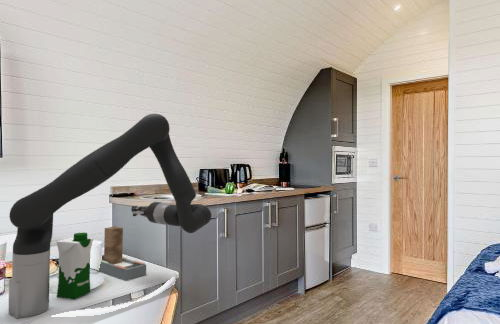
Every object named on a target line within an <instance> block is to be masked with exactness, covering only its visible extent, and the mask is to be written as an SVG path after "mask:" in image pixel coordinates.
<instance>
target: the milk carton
mask: <svg viewBox="0 0 500 324" xmlns="http://www.w3.org/2000/svg"><path fill="white" fill-rule="evenodd" d="M93 242H94V238H92V237H88V233H87V232H76V233H73V236H72V237H69V238H64V239H60V240H57V241H56V245H57V250H58V282H57V291H56V298H61V299H68V300H73V301H75V300H77V299H79V298H81V297H84V296H86V295H87V294H90V293H91V277H90V276H91V268H90V258H91V249H92V245H93Z"/></svg>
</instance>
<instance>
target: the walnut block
mask: <svg viewBox="0 0 500 324" xmlns="http://www.w3.org/2000/svg"><path fill="white" fill-rule="evenodd" d="M123 237H124V227H121V226H109V227H104V241H103V242H104V243H103V245H104V246H103V247H104V251H103V255H104V261H106V262H109V263H110V264H113V265H114V264H118V263H122V257H123V249H124V245H123V241H124V240H123V239H124V238H123Z"/></svg>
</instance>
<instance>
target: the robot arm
mask: <svg viewBox="0 0 500 324" xmlns="http://www.w3.org/2000/svg"><path fill="white" fill-rule="evenodd" d="M149 148H150V150H151V152H152V153H153V154H154V156H155V158H156V160H157V162H158V164H159V167H160V169H161V171H162V173H163V177H164V179H165V181H166V184H167V186H168V188H169V190H170V192H171V194H172V197H173V199H174V202H175V204H172V203H168V202H162V201H153V202H151V203H150V204H149V205H140V206H138V205H133V206H132V205H131V213H132V216H133V217H137V216H138V215H139V216H141V217H143V218H147V220H148V221H149V222H150V223H152V224H158V225H163V226H164V225H165V226H174V227H181V229H182V230H183V231H184V232H186V233H188V234H193V233H195V232H197V231H198V230H199V231H200V229H201V228H203V227H205V226H206V225H207V224H209V223H210V221H211V220H212V211H211V210H210V208H208V206H206V205H205V204H202V203H193V204H192V202H193V201H194V200H195V198H196V196H197V193H196V189H195V188H194V186H193V184H192V181H191V179H190V177H189V175H188V173H187V171H186V170H185V168H184V166H183V164H182V163H181V162H180V159H179V157H178V156H177V154H176V151H175V150H174V147H173V144H172V141H171V136H170V124H169V121H168V120H167V118H166V117H165V116H164V115H162V114H160V113H149V114H147V115H144V117H142V118H141V119H140V120H139V121H138V122H136V123H135V124H134V125H133V126H131V127H130V128H129V129H128V130H127V131H125V132H124V133H122V134H121V135H120V136H118V137H116V138H114V139H113V140H111V141H109V142H106V143H105V144H104V145H102V146H100V147H98V148H97V149H94V151H91V152H90V153H89V154H87V155H85V156H84V157H82V158H81V159H80V160H78V161H77V162H76V163H74V164H73V165H71V166H70V167H69V168H66V170H65V171H63V172H62V173H61V174H60V175H58V176H57V177H56V178H55V179H53V180H52V181H50V183H48V184H46V185H45V186H43V187H40V188H39V189H37V190H36V191H33V192H32V193H29V194H27V195H25V196H24V197H22V198H19V199H18V200H16V201H15V203H13V204H12V206H11V208H10V210H9V221H10V223H11V224H12V226H14V227H16V228H17V230H16V232H17V233H16V236H15V239H14V242H13V244H12V264H11V265H12V269H11V270H12V271H11V273H12V275H11V278H9V279H8V314H9V315H11V316H12V317H14V318H15V319H19V318H25V317H26V318H27V317H33V316H36V315H39V314H42V313H44V312H46V311H48V310H49V307H50V275H51V274H50V273H51V269H50V267H51V265H50V263H51V260H50V259H51V243H52V240H53V239H52V238H53V232H54V231H53V230H54V213H56V212H57V211H58V210H60V209H61V208H62V207H63V206H65V205H66V204H68V203H69V202H72V201H73V200H75V199H77V198H79V197H80V196H82V195H85V194H86V193H89V192H90V191H92V190H94V189H95V188H97V187H98V186H101V185H102V184H103V183H105V182H107V180H109V179H110V178H112V177H113V176H114V175H115V174H117V173H118V172H119V171H120V170H122V169H123V167H125V166H126V165H127V164H128V163H129V162H130V161H131V160H132V159H133V158H134V157H136V156H137V155H139V153H140V154H141V153H142V152H143V151H145V150H146V149H149Z"/></svg>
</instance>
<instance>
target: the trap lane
mask: <svg viewBox="0 0 500 324" xmlns="http://www.w3.org/2000/svg"><path fill="white" fill-rule="evenodd" d="M101 255H102V260H101V264H100V268H99V271H98V272H99V273H102V274H105V275H107V276H110V277H114V278H117V279H119V280H121V281H125V282H126V281H130V280H134V279H138V278H140V277H144V276H147V264H146V263H145V262H141V261H139V260H138V261H137V260H131V259H128V258H127V257H124V256H122V263H118V264H114V265H113V264H110V263H109V262H106V261H104V254H101Z"/></svg>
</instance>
